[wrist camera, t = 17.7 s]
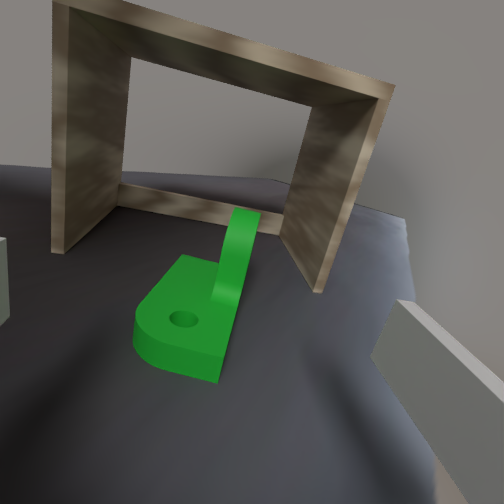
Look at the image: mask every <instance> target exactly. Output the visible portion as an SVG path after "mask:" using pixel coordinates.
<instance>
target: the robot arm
mask: <svg viewBox="0 0 504 504" xmlns="http://www.w3.org/2000/svg"><path fill="white" fill-rule="evenodd" d="M9 317H10V307H9V286H8V265H7V244H6V238H3V237H0V326H1V325H2V324H3V323H4V322H5V321H6V320H7V319H8V318H9ZM370 358H371V359H372V361H373V362H374V364H375V365H376V367H377V368H378V370H379V371H380V373H381V374H382V376H383V377H384V379H385V380H386V382H387V383H388V385H389V386H390V388H391V389H392V391H393V392H394V393H395V395H396V396H397V398H398V399H399V401H400V402H401V404H402V405H403V407H404V408H405V410H406V411H407V413H408V414H409V416H410V417H411V419H412V420H413V422H414V423H415V425H416V426H417V428H418V429H419V431H420V432H421V433H422V435H423V436H424V438H425V439H426V441H427V442H428V444H429V445H430V447H431V448H432V450H433V451H434V453H435V454H436V456H437V457H438V459H439V460H440V462H441V463H442V465H443V466H444V467H445V469H446V470H447V472H448V473H449V475H450V476H451V478H452V479H453V481H454V482H455V484H456V485H457V487H458V488H459V490H460V491H461V493H462V494H463V496H464V497H465V499H466V500H467V502H468V503H469V504H504V382H503V381H501V380H500V379H499V378H498V377H497V376H496V375H495V374H494V373H493V372H492V371H490V370H489V369H488V368H487V367H486V366H484V365H483V363H481V362H480V361H479V360H478V359H477V358H476V357H475V356H474V355H472V354H471V353H470V352H469V351H468V350H467V349H466V348H464V346H462V345H461V344H460V343H459V342H458V341H457V340H456V339H455V338H453V337H452V336H451V335H450V334H449V333H448V332H447V331H445V330H444V329H443V328H442V327H441V326H440V325H439V324H438V323H437V322H435V321H434V320H433V319H432V318H431V317H430V316H429V315H427V313H425V312H424V311H423V310H422V309H421V308H420V307H419V306H418V305H417V304H415V303H414V302H410V301H403V300H397V299H396V301H395V304H394V306H393V308H392V310H391V312H390V314H389V317H388V319H387V321H386V323H385V325H384V328H383V330H382V332H381V334H380V336H379V338H378V341H377V343H376V345H375V347H374V349H373V352H372V354H371V356H370Z"/></svg>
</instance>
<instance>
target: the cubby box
mask: <svg viewBox="0 0 504 504" xmlns="http://www.w3.org/2000/svg"><path fill="white" fill-rule="evenodd" d="M131 57H133V58H137V59H141V60H144V61H148V62H151V63H155V64H159V65H162V66H166V67H169V68H173V69H177V70H180V71H184V72H188V73H192V74H195V75H198V76H202V77H206V78H209V79H213V80H216V81H220V82H224V83H227V84H231V85H234V86H238V87H242V88H245V89H249V90H253V91H256V92H260V93H263V94H267V95H271V96H274V97H278V98H281V99H285V100H288V101H292V102H296V103H299V104H303V105H306V106H310V107H312V109H311V113H310V116H309V120H308V124H307V128H306V131H305V135H304V138H303V142H302V145H301V149H300V153H299V156H298V160H297V164H296V167H295V171H294V174H293V178H292V182H291V185H290V189H289V193H288V196H287V200H286V204H285V207H284V211H283V214H277V213H272V212H267V211H262V210H257V209H252V208H247V207H242V206H237V205H232V204H227V203H222V202H217V201H212V200H207V199H202V198H197V197H192V196H187V195H182V194H177V193H172V192H167V191H162V190H157V189H152V188H147V187H142V186H137V185H132V184H127V183H122V182H121V175H122V163H123V151H124V138H125V126H126V115H127V103H128V91H129V78H130V67H131ZM394 88H395V85H394V84H390V83H387V82H384V81H380V80H377V79H374V78H370V77H368V76H364V75H361V74H358V73H354V72H352V71H348V70H345V69H342V68H338V67H335V66H332V65H329V64H325V63H323V62H319V61H316V60H313V59H310V58H306V57H303V56H300V55H297V54H294V53H290V52H287V51H284V50H281V49H277V48H274V47H271V46H268V45H264V44H261V43H258V42H255V41H252V40H248V39H245V38H242V37H239V36H235V35H232V34H229V33H226V32H222V31H219V30H216V29H213V28H210V27H206V26H203V25H200V24H197V23H194V22H190V21H187V20H183V19H181V18H177V17H174V16H171V15H168V14H164V13H161V12H158V11H155V10H151V9H148V8H145V7H142V6H139V5H135V4H132V3H129V2H126V1H123V0H52V170H51V253H58V254H65V253H66V252H67V251H68V250H69V249H70V248H71V247H72V246H73V245H75V244H76V243H77V242H78V241H79V240H80V239H81V238H82V237H83V236H84V235H85V234H87V233H88V232H89V231H90V230H91V229H92V228H93V227H94V226H95V225H96V224H97V223H99V222H100V221H101V220H102V219H103V218H104V217H105V216H106V215H107V214H108V213H109V212H111V211H112V210H113V209H114V208H115V207H116V206H123V207H128V208H134V209H139V210H144V211H150V212H155V213H161V214H166V215H171V216H177V217H182V218H187V219H193V220H198V221H204V222H209V223H214V224H220V225H225V226H228V225H229V222H230V219H231V216H232V213H233V210H234V208H235V207H239V208H243V209H247V210H251V211H255V212H259V213H261V216H260V220H259V224H258V229H257V231H258V232H263V233H268V234H274V235H279V237H280V238H281V240H282V242H283V243H284V245H285V247H286V248H287V250H288V252H289V253H290V255H291V257H292V258H293V260H294V262H295V263H296V265H297V267H298V268H299V270H300V272H301V273H302V275H303V277H304V278H305V280H306V282H307V283H308V285H309V287H310V288H311V290H312V292H316V293H322V292H323V289H324V286H325V283H326V281H327V278H328V275H329V272H330V269H331V267H332V264H333V261H334V258H335V255H336V252H337V250H338V247H339V244H340V241H341V238H342V235H343V233H344V230H345V227H346V224H347V221H348V218H349V216H350V213H351V210H352V207H353V204H354V201H355V199H356V196H357V193H358V190H359V187H360V184H361V182H362V179H363V176H364V173H365V170H366V167H367V165H368V162H369V159H370V156H371V153H372V151H373V148H374V145H375V142H376V139H377V136H378V134H379V131H380V128H381V125H382V122H383V119H384V117H385V114H386V111H387V108H388V105H389V102H390V100H391V97H392V93H393V91H394Z"/></svg>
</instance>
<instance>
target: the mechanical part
mask: <svg viewBox="0 0 504 504" xmlns="http://www.w3.org/2000/svg"><path fill="white" fill-rule="evenodd" d="M260 216H261V213H259V212H255V211H251V210H247V209H243V208H239V207H235V208H234V210H233V213H232V216H231V219H230V222H229V225H228V228H227V232H226V236H225V240H224V244H223V248H222V252H221V257H220V262H219V263H215V262H211V261H207V260H203V259H199V258H195V257H191V256H187V255H183V254H182V255H181V257H180V258H179V259H178V260H177V261H176V262H175V264H174V265H173V266H172V267H171V268H170V269H169V271H168V272H167V273H166V274H165V275H164V276H163V277H162V279H161V280H160V281H159V282H158V283H157V284H156V286H155V287H154V288H153V289H152V290H151V291H150V293H149V294H148V295H147V296H146V297H145V298H144V300H143V301H142V302H141V303H140V304H139V306H138V307H137V310H136V314H135V323H134V332H133V345H134V348H135V350H136V352H137V353H138V354H139V356H140V357H141V358H142V359H144V360H145V361H146V362H148V363H149V364H151V365H153V366H155V367H157V368H160V369H163V370H167V371H171V372H175V373H178V374H182V375H186V376H190V377H194V378H198V379H202V380H206V381H210V382H214V383H218V380H219V376H220V372H221V369H222V365H223V361H224V357H225V353H226V350H227V346H228V342H229V338H230V335H231V331H232V327H233V323H234V319H235V316H236V312H237V308H238V304H239V301H240V297H241V293H242V289H243V285H244V281H245V277H246V273H247V269H248V265H249V261H250V257H251V253H252V249H253V245H254V241H255V237H256V233H257V229H258V224H259V220H260Z"/></svg>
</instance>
